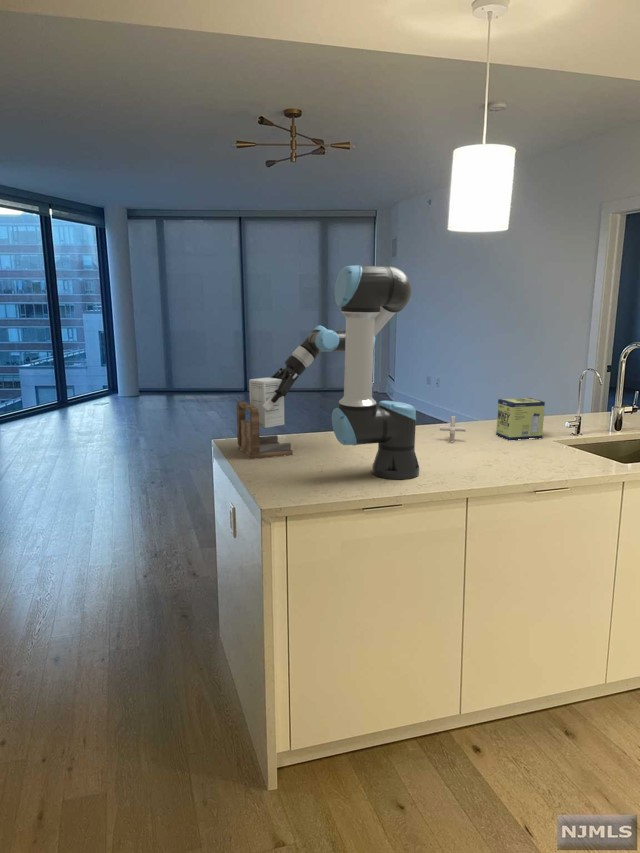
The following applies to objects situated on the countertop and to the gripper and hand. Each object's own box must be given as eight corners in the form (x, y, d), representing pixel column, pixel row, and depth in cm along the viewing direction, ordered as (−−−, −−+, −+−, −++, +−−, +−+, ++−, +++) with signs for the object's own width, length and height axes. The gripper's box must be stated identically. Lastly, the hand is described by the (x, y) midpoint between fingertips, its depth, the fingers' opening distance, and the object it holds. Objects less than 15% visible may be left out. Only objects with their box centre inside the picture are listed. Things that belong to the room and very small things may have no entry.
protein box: (495, 435, 251) (497, 398, 247) (527, 433, 255) (530, 397, 251) (509, 441, 241) (511, 402, 238) (542, 439, 245) (545, 401, 242)
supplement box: (285, 425, 220) (284, 379, 217) (265, 428, 214) (264, 381, 210) (269, 421, 227) (268, 376, 224) (249, 424, 221) (248, 378, 217)
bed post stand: (293, 455, 217) (292, 406, 213) (252, 459, 210) (252, 408, 207) (275, 444, 233) (275, 398, 229) (237, 448, 226) (236, 401, 223)
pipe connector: (465, 444, 234) (466, 419, 232) (439, 443, 236) (440, 418, 234) (464, 439, 244) (465, 414, 241) (439, 437, 245) (440, 413, 243)
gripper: (318, 371, 212) (278, 418, 209) (293, 365, 233) (256, 407, 230) (305, 357, 209) (263, 404, 206) (280, 351, 230) (242, 394, 227)
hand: (259, 405), depth 218 cm, fingers closed on supplement box, 11 cm apart
